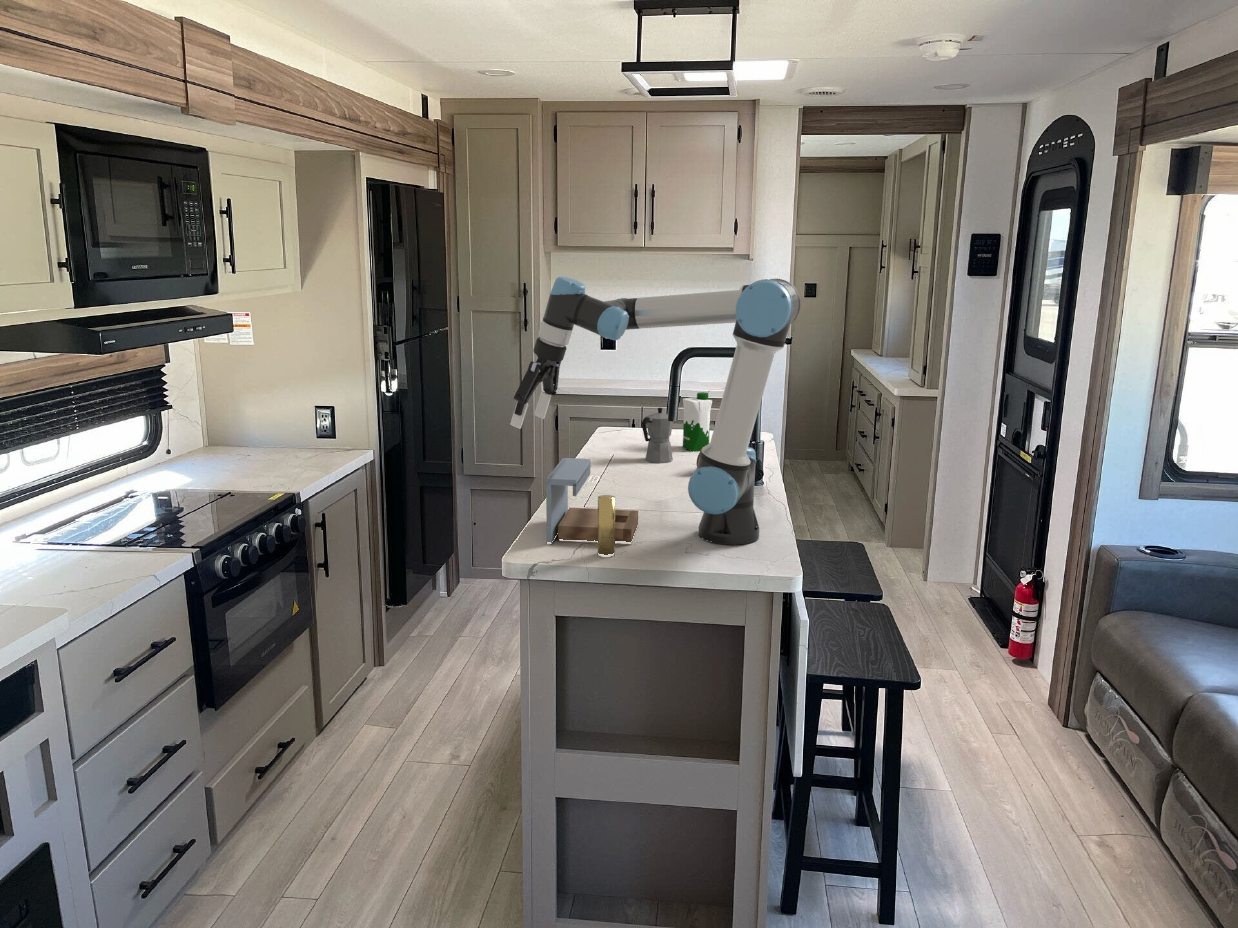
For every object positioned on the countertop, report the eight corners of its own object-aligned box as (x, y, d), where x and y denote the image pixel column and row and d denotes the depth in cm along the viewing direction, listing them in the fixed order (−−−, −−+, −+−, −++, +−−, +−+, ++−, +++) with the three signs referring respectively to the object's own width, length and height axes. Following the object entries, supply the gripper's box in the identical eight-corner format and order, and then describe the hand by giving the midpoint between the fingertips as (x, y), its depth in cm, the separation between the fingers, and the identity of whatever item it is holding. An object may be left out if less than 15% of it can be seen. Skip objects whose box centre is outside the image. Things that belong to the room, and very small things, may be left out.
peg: (617, 556, 213) (617, 498, 210) (601, 558, 212) (601, 500, 208) (610, 551, 217) (610, 494, 213) (594, 553, 215) (595, 495, 212)
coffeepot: (661, 454, 316) (662, 403, 312) (682, 459, 310) (683, 407, 306) (631, 462, 305) (631, 409, 301) (652, 466, 299) (653, 412, 295)
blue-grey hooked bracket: (590, 519, 241) (590, 458, 237) (576, 546, 220) (575, 479, 216) (563, 518, 242) (563, 457, 238) (546, 544, 221) (546, 478, 217)
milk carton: (712, 450, 324) (714, 394, 319) (690, 452, 320) (692, 396, 316) (700, 445, 332) (702, 391, 327) (678, 447, 328) (680, 392, 323)
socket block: (638, 525, 237) (638, 510, 236) (631, 544, 221) (631, 529, 220) (569, 522, 239) (569, 507, 238) (558, 541, 223) (557, 525, 222)
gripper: (559, 331, 232) (535, 407, 238) (515, 340, 209) (491, 424, 216) (585, 342, 230) (560, 418, 237) (544, 352, 207) (518, 437, 214)
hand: (527, 421), depth 226 cm, fingers open, 13 cm apart
